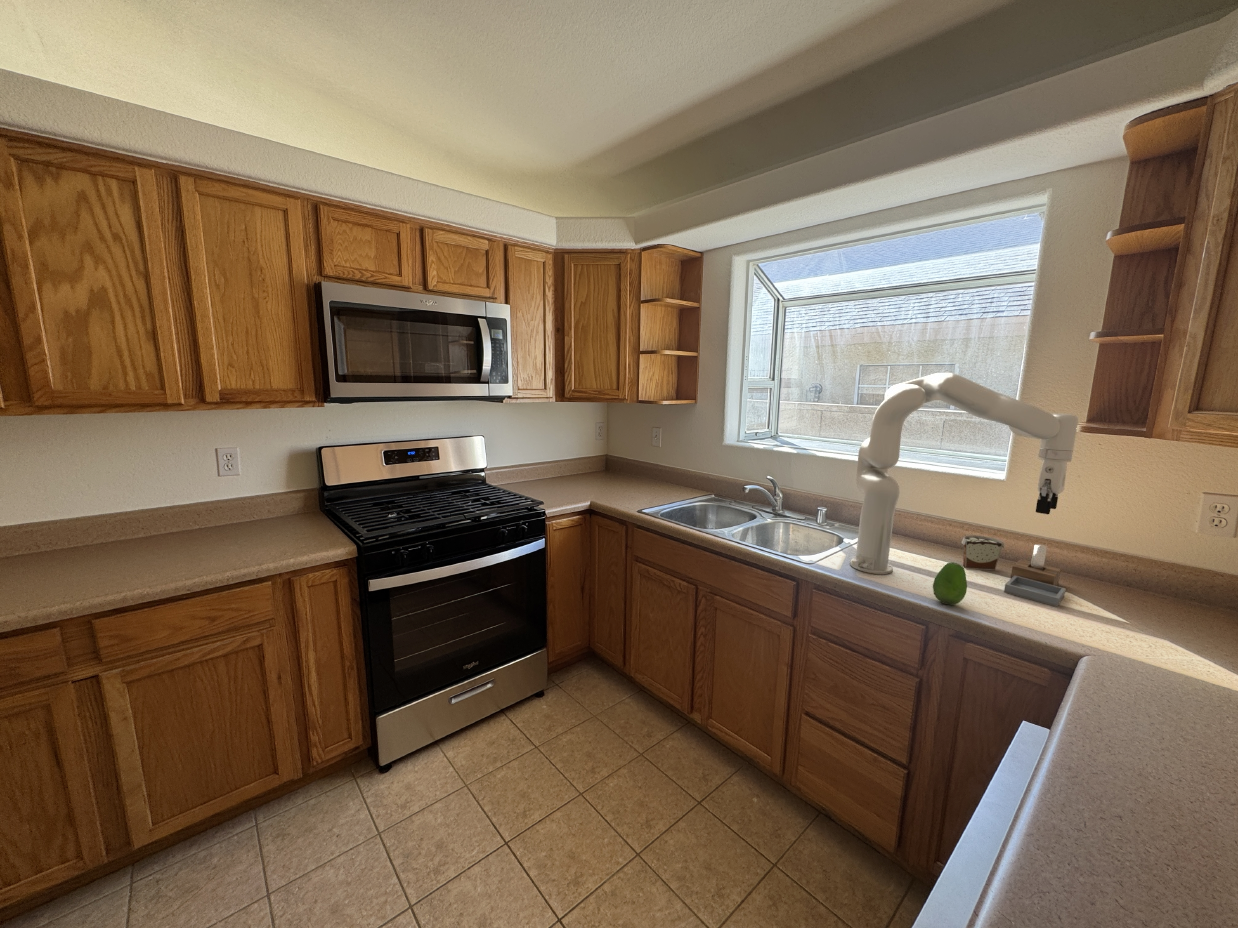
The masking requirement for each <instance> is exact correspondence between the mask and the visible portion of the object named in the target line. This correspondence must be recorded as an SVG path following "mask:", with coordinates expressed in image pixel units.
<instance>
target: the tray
mask: <svg viewBox="0 0 1238 928" xmlns="http://www.w3.org/2000/svg"><path fill="white" fill-rule="evenodd" d="M1066 590H1067V588H1066V587H1061V586H1059V585H1057V586H1054V585H1050V584H1046V583H1042V582H1039V581H1035V580H1031V579H1027V578H1023V577H1019V576H1015V575H1014V576H1013V577H1012V578H1011V577H1010V579H1009V580H1008V581H1007V582H1006V583H1005V584H1004V589H1003V593H1006V594H1010V595H1011V596H1012V595H1013V596H1017V597H1020V598H1023V599H1027V600H1031V601H1035V602H1037V603H1040V604H1041V603H1042V604H1045V605H1048V606H1052V607H1056V608H1057V607H1058V606H1059V605H1060V603H1061V602H1062V600H1063V599H1064V598H1065V595H1066Z"/></svg>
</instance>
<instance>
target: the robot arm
mask: <svg viewBox="0 0 1238 928" xmlns="http://www.w3.org/2000/svg"><path fill="white" fill-rule="evenodd" d="M883 399H884V400H883V401H882V402H881V403H880V405H879V406H878V407H877V409H876V410H875V412H874V415H873V417H872V421H871V428H870V433H869V434H870V435H869V436H870V437H868V438H866V439H864V441H863V442H862V443H861V444H860V447H859V450H858V455H857V466H856V467H857V468H856V487H857V489H858V490H859V491H860V492H861V494H863V495H864V498H863V502H862V505H861V510H860V514H859V515H860V517H859V526H858V535H857V543H856V553H855V557H852V558H851V559H850V561H849V564H850V566H851V567H852V568H854V569H855V570H857V571H858V570H859V571H860V572H864V573H868V574H873V575H874V574H876V575H887V574H891V573H892V572H893V571H894V570H893V569H894V568H893V565H891V564H890V563H889V559H890V549H891V541H892V533H893V527H894V525H893V524H894V519H895V512H896V507H897V504H898V501H899V497H900V486H899V483H898V482H897V480H896V479H895V478H894V477H893V476H891V475H890V474H888V470H889V469H892V468H893V467H894V466H896V465H897V463H898V461H899V458H900V452H901V450H900V449H901V440H902V439H901V438H902V431H903V425H904V423H905V421H906V419H907V418H909V417H908V416H910V415H911V414H913V413H914V412H915V411H918V410H919V409H920V408H922V407H923V405H924V404H927V403H930V402H934V401H941V402H944V403H946V404H948V405H950V406H953V407H955V408H957V409H959V410H962V411H964V412H966V413H968V414H970V415H972V416H974V417H976V418H979V419H983V420H986V421H991V422H995V423H1000V424H1002V425H1005V426H1008V428H1009V430H1010V431H1011V432H1012V433H1013V434H1014V435H1016V436H1019V437H1024V438H1031V439H1034V440H1035V439H1036V440H1040V443H1039V451H1038V456H1037V459H1038V460H1042V461H1041V466H1040V472H1039V476H1038V477H1039V478H1038V484H1037V491H1038V492H1039V494H1038V498H1037V500H1036V507H1035V513H1037V514H1043V515H1050V514H1051V509H1052V510H1056V509H1057V507H1058V501H1059V500H1058V499H1059V495H1060V494H1061V493H1063V492H1064V490H1065V484H1066V476H1067V466H1068V464H1067V463H1071V462H1072V459H1073V455H1074V454H1073V453H1074V447H1075V443H1076V442H1075V441H1076V435H1077V429H1078V424H1079V417H1078V416H1077V415H1076V414H1072V413H1058V412H1055V413H1053V412H1052V413H1049V412H1048V411H1045V410H1044V409H1041V408H1039V407H1037V406H1034V405H1032V404H1029V403H1027V402H1024V401H1023V400H1018V399H1016V398H1014V397H1010V396H1009V395H1006V394H1003V393H1000V392H998V391H995V390H993V389H990V388H988V387H986V386H983V385H981V384H979V383H977V382H974V381H973V380H970V379H969V378H966V377H964V376H962V375H959V374H956V373H953V372H937V373H932V374H930V375H926V376H923V377H919V378H915V379H911V380H908V381H905V382H901V383H897V384H894V385H892V386H890V387H889V388H888V389H887V390H886V392H885V393H884V398H883ZM1076 428H1077V429H1076Z"/></svg>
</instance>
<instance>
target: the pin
mask: <svg viewBox="0 0 1238 928" xmlns="http://www.w3.org/2000/svg"><path fill="white" fill-rule="evenodd" d="M1047 549H1048V546H1047V545H1043V544H1041V543H1039V544H1038V543H1034V546H1033V552H1032V556H1031V560H1030V561H1031V566H1030V568H1034V569H1038V570H1043V567H1044V565H1045V561H1046V556H1047V555H1046V554H1047Z"/></svg>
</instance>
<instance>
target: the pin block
mask: <svg viewBox="0 0 1238 928" xmlns="http://www.w3.org/2000/svg"><path fill="white" fill-rule="evenodd" d="M1031 561H1032V560H1026V559H1022V558H1020V559H1019V560H1017V561H1016V563H1015V564H1013V565H1012V568H1011V572H1010V573H1011V575H1010V579H1011V578H1012V577H1013V576H1014V575H1015V576H1019V577H1023V578H1027V579H1031V580H1035V581H1039V582H1042V583H1046V584H1050V585H1054V586H1059V583H1060V582H1059V580H1060V576H1061V571H1062V568H1060V567H1056V566H1052V565H1048V564H1044V567H1043V570H1038V569H1034V568H1030V566H1031Z"/></svg>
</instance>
